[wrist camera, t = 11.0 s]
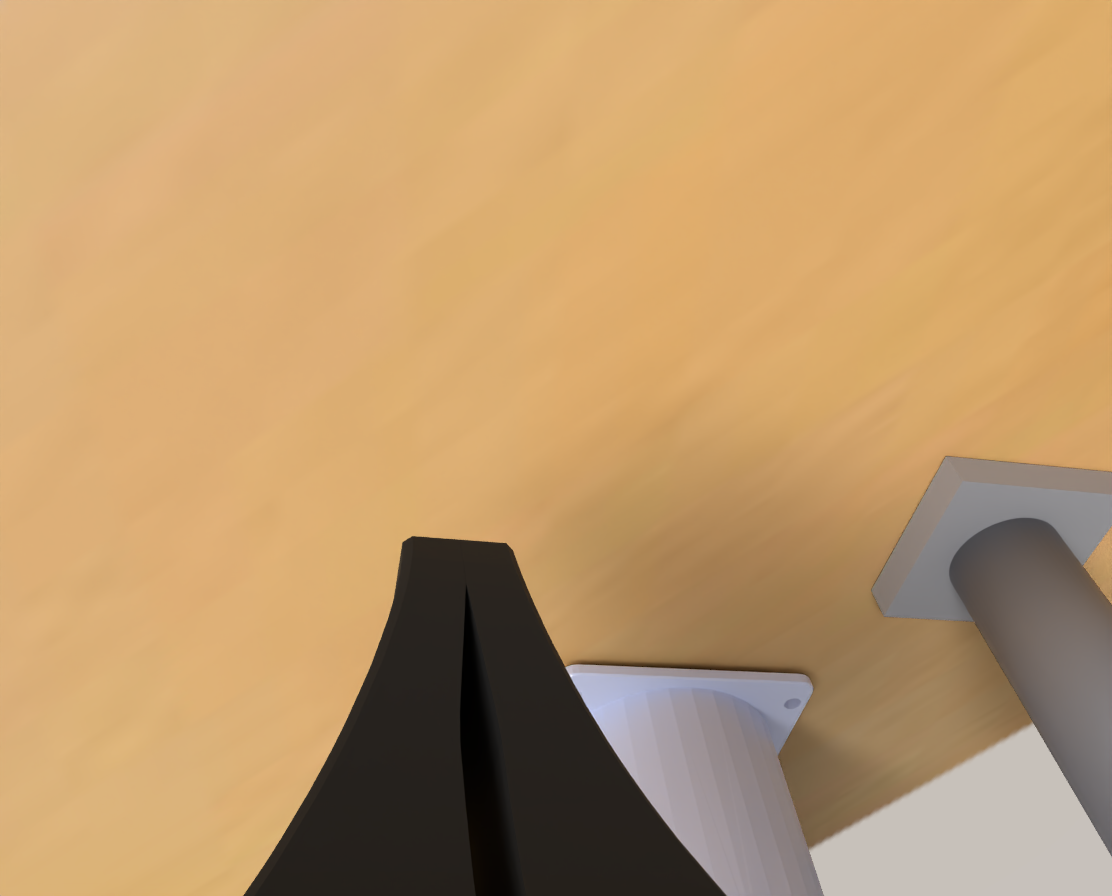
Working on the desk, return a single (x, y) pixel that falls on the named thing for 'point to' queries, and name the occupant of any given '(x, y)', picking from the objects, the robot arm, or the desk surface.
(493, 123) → the desk surface
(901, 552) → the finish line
